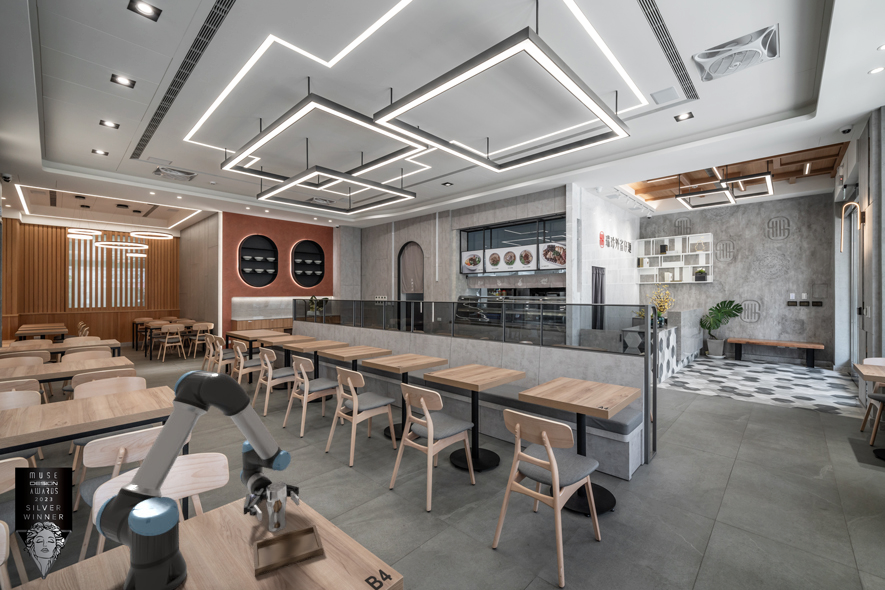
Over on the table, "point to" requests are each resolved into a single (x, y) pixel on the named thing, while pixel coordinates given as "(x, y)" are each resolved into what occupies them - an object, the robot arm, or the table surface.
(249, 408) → the robot arm
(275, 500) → the silver metal cup
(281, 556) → the walnut tray
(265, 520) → the table surface
